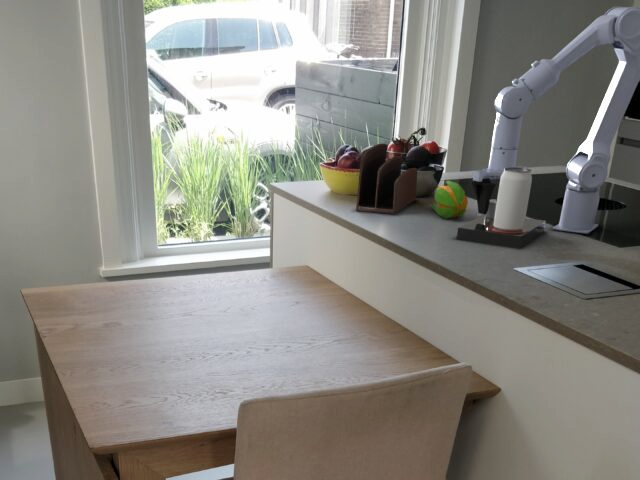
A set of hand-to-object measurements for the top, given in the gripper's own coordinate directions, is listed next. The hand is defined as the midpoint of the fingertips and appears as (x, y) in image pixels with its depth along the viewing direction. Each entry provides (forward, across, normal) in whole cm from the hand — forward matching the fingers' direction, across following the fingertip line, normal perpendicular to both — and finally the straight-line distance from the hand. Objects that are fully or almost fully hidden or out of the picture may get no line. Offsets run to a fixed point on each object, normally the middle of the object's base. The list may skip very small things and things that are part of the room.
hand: (494, 212), depth 190 cm
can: (+1, -6, -10) cm, 12 cm away
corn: (+4, +1, +17) cm, 18 cm away
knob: (+1, 0, 0) cm, 1 cm away
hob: (+4, -3, -6) cm, 8 cm away
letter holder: (+4, -6, +32) cm, 32 cm away
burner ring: (+1, -6, -10) cm, 12 cm away
